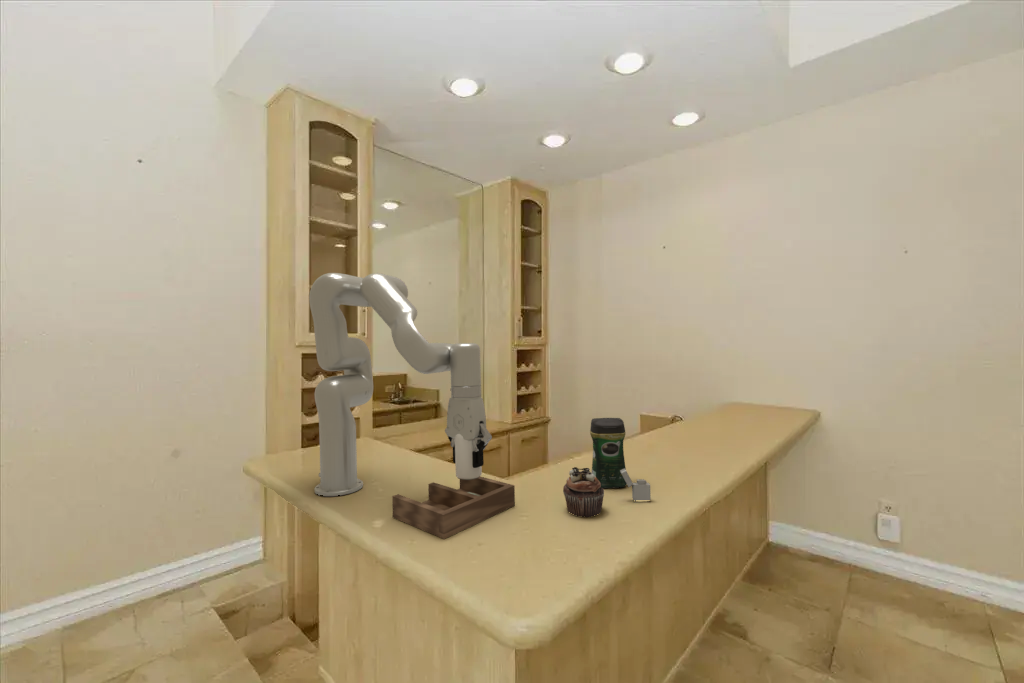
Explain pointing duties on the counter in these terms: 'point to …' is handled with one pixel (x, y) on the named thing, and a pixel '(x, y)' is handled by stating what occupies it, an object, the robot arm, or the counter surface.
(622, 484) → the coffee jar
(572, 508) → the cupcake
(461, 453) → the can
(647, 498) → the lighter
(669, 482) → the counter surface
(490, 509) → the tray
